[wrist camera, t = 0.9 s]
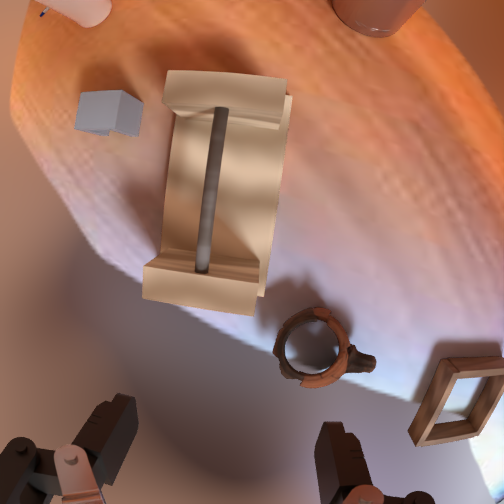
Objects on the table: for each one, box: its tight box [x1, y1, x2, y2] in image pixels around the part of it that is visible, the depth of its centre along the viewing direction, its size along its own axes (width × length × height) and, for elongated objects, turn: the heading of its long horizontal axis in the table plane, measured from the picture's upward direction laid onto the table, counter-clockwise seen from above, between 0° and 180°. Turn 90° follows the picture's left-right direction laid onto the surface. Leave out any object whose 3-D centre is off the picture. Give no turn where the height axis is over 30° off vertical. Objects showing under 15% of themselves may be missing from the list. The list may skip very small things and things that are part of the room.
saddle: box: [74, 90, 144, 137], centre depth 29 cm, size 4×5×6 cm
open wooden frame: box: [408, 356, 504, 447], centre depth 37 cm, size 14×14×4 cm
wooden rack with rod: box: [142, 70, 292, 316], centre depth 29 cm, size 22×12×9 cm, turn 172°
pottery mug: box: [273, 307, 376, 388], centre depth 35 cm, size 12×10×8 cm
